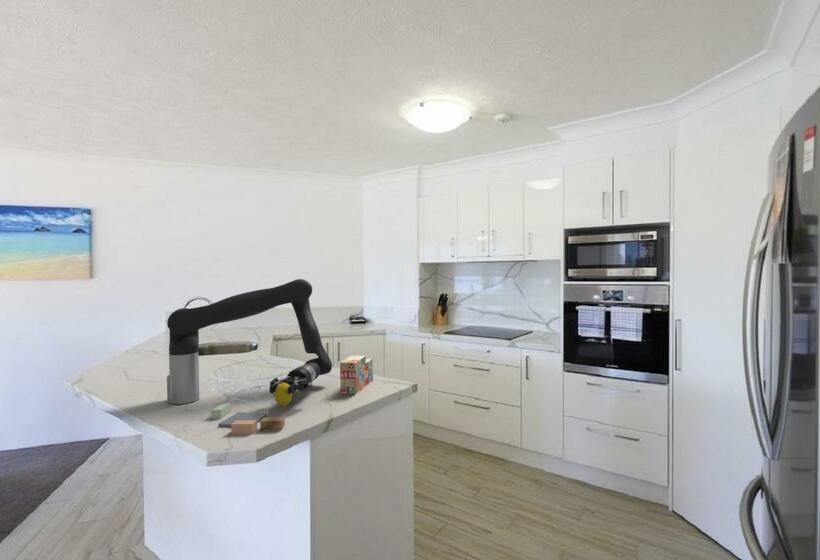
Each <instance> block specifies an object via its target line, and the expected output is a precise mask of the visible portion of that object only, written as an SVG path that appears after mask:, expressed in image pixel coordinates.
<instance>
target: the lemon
mask: <svg viewBox="0 0 820 560" xmlns="http://www.w3.org/2000/svg"><path fill="white" fill-rule="evenodd" d="M289 386H290V385H288V384H287V383H285V382H282V383H281V384H278V386H277V387H276V390H275V392H274V400H275V402H276V404H277V405H278V406H282V408H285V407H286V406H287V405H289V403H290V402H291V401H292V399H293V393H291V394H288V387H289Z"/></svg>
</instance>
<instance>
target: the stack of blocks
mask: <svg viewBox="0 0 820 560" xmlns="http://www.w3.org/2000/svg"><path fill="white" fill-rule="evenodd" d="M366 357H367V356H366V355H350V356H348V357H347V358H345V359H343V360H342V361H340V362H339V368H340V369H339V370H340V371H339V373H340V374H339V375H340V376H339V378H340V395H347V394H357V393H358V392H359V391H360V392H362V391H363V390H364V389H363V388H364V387H365V386H366V385H367V384H368V383H369V384H370V383H372V381H374V376H373V375H374V367H373V366H374V365H373V358H366ZM369 384H368V385H369ZM368 385H367V386H368ZM367 386H366V387H367ZM366 387H365V388H366ZM362 389H363V390H362ZM360 392H359V393H360ZM359 393H358V394H359ZM358 394H357V395H358Z"/></svg>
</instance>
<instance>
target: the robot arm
mask: <svg viewBox="0 0 820 560" xmlns="http://www.w3.org/2000/svg"><path fill="white" fill-rule="evenodd" d="M312 295H313V286H312V284H311V283H310V282H309V281H308V280H307V279H303V278H298V279H294V280H291V281H288V282H287V283H284V284H281V285H277V286H273V287H270V288H269V287H268V288H262V289H257V290H252V291H247V292H243V293H239V294H235V295H232V296H228V297H226V298H223V299H220V300H218V301H215V302H214V303H211V304H210V303H209V304H208V305H207V304H206V305H203V306H197V307H194V308H193V307H192V308H191V307H190V308H187V307H183V308H178V309H176V310H174V311H173V312H171V314H170V315H169V316H168V318H167V322H166V323H167V324H166V325H167V328H168V329H169V345H168V363H169V367H168V369H169V373H168V375H167V376H166V395H167V396H166V398H167V399H166V400H167V403H170V404H172V405H184V404H190V403H194V402H196V401H199V400H200V362H199V361H200V360H199V348H200V347H199V344H200V343H199V342H200V341H199V339H200V338H199V335H200V334H199V333H200V332H199V330H200V329H201V330H202V329H204V328H207V327H209V326H213V325H217V324H221V323H222V324H224V323H228V322H233V321H237V320H242V319H245V318H249V317H252V316H256V315H259V314H262V313H264V312H266V311H269V310H271V309H274V308H276V307H279V306H281V305H287V304H291V306H292V308H293V311H294V313H295V316H296V320H297V323H298V327H299V331H300V336H301V340H302V344H303V348H304V350H305V353H306V354H308V355H310V354H314V355H317V357H315V358H312V359H309V360H307V361H305V363H304V364H303V365H299V366H297V367H295V368H294V369H292V370H290V371H289V372H288V373H287V376H286V377H284V378H280V379H279V377H274V378H273V379H272V380H271V381H270V382H269V388H268V389H269V390H268V391H269V394H275V390H276V387H277V386H278V385H279V384H281V383H282V382H285V383H287V384H288V385H290V386H289V387H288V394H291V393H292V394H293V393H294V392H298V391H301V392H303V391H305V390H308V389H309V388H312V387H313V382H314V381H315V380H316V379H317V378H319V377H320V376H322V375H327V374H329V373H330V372H331V371H332V368H333V363H332V361H331V358H330V356H329V355H328V353H327V351H326V349H325V347H324V345H323V343H322V342H323V341H322V339H321V335H320V331H319V329H318V326H317V324H316V322H315V319H314V317H313V314H312V309H311V306H310V297H311V296H312Z"/></svg>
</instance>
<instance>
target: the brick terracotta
mask: <svg viewBox="0 0 820 560" xmlns="http://www.w3.org/2000/svg"><path fill="white" fill-rule="evenodd" d="M230 428H231V429H230V430H231V433H230V434H231V435H253V434H254V433H255V432H257V430H258V423H257V420H236V421H235V422H233V423H232V424H231V427H230Z"/></svg>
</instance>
